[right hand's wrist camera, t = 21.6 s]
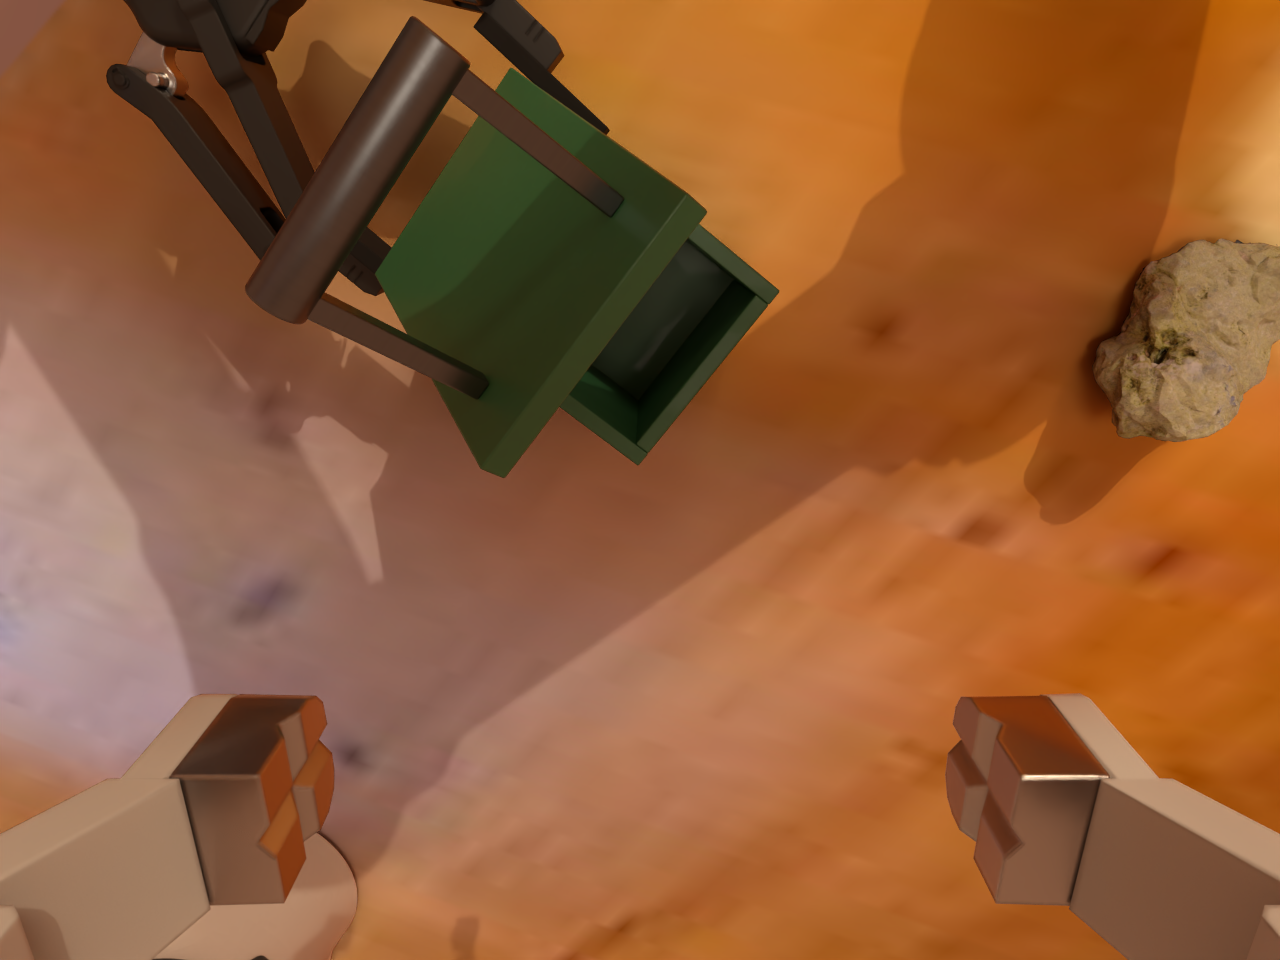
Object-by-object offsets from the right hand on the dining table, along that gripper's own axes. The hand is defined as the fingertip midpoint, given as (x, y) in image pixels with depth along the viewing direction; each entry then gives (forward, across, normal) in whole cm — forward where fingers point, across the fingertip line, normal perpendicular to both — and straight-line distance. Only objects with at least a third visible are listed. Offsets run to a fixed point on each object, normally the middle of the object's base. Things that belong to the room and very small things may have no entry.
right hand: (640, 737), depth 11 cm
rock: (+37, -30, +2) cm, 48 cm away
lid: (+20, +4, -4) cm, 21 cm away
